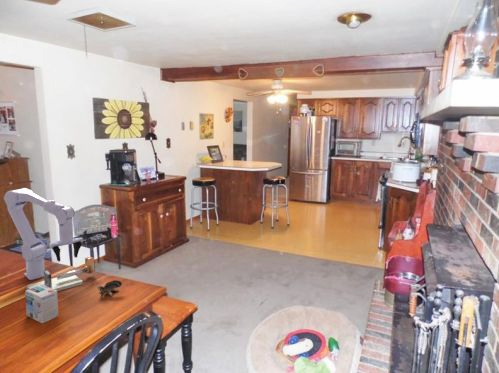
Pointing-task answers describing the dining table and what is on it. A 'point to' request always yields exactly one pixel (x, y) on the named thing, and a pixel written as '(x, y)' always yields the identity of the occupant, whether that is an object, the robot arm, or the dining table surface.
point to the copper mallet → (88, 269)
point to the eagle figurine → (109, 287)
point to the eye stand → (57, 282)
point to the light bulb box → (41, 303)
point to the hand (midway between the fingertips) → (67, 258)
